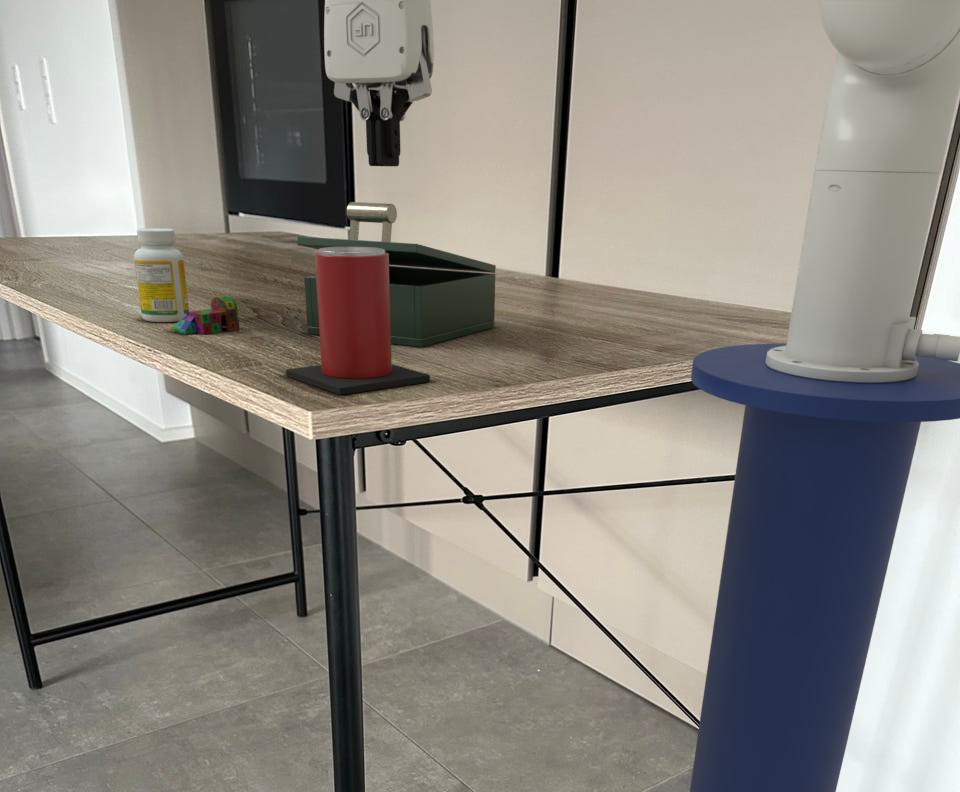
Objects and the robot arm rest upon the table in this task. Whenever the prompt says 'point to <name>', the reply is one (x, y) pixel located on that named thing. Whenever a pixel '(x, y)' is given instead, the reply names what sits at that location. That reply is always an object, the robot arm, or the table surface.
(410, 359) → the table surface
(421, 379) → the mat
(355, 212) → the bin lid
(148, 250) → the supplement bottle
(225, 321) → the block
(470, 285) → the bin
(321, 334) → the can
